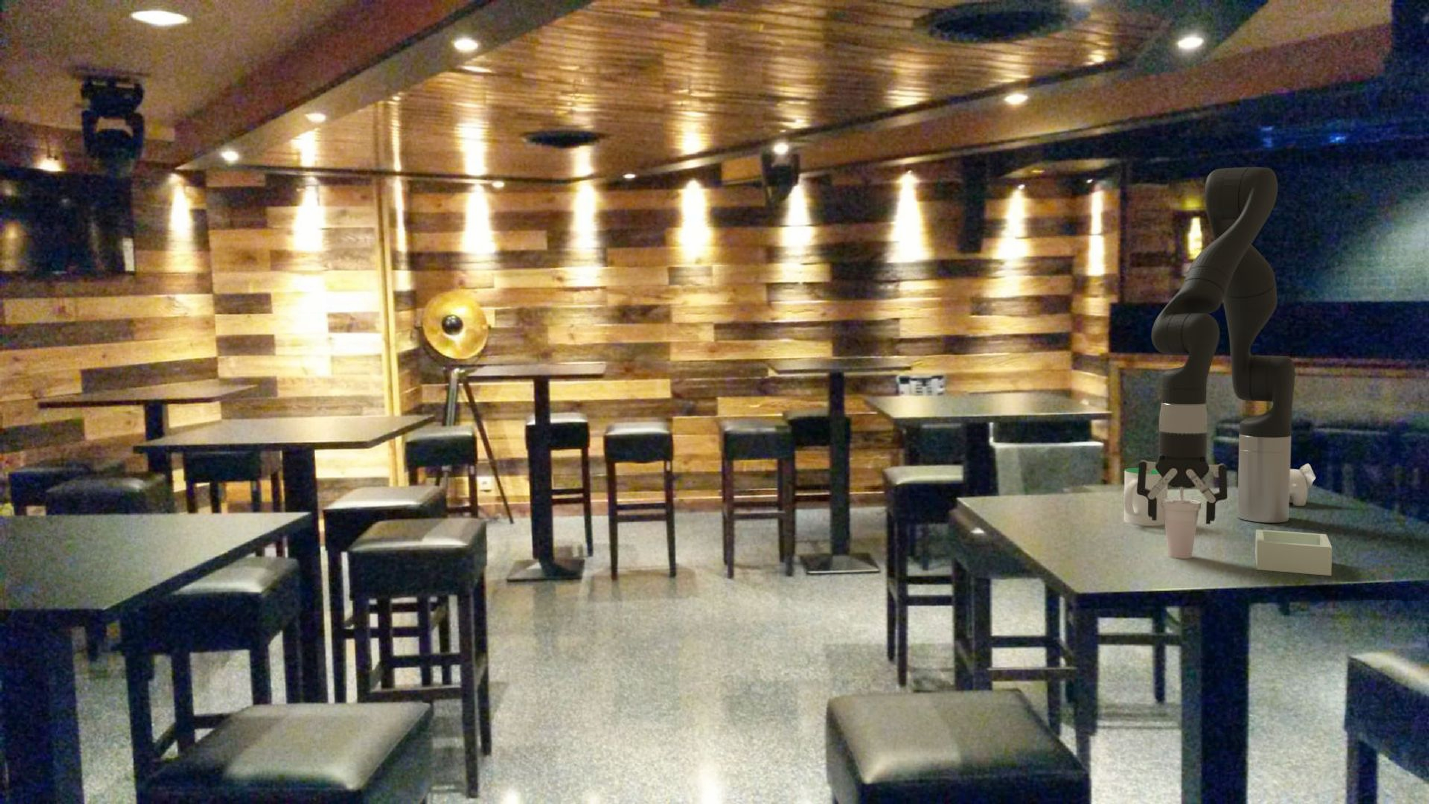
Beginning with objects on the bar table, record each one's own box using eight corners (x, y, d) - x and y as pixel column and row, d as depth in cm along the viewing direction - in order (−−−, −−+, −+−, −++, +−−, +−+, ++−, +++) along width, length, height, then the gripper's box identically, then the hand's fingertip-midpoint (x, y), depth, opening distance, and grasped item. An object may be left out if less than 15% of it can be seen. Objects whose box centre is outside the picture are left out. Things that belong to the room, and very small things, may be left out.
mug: (1149, 530, 197) (1150, 478, 196) (1109, 525, 203) (1109, 474, 202) (1173, 521, 206) (1174, 470, 205) (1133, 516, 211) (1134, 466, 210)
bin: (1255, 555, 176) (1255, 529, 176) (1325, 560, 171) (1326, 534, 171) (1257, 569, 167) (1257, 542, 166) (1331, 575, 162) (1332, 547, 162)
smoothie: (1202, 554, 178) (1204, 475, 176) (1197, 562, 172) (1199, 481, 171) (1162, 550, 181) (1164, 473, 180) (1157, 557, 176) (1158, 478, 174)
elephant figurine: (1296, 498, 228) (1297, 459, 227) (1320, 508, 216) (1321, 467, 215) (1251, 497, 229) (1252, 458, 228) (1272, 507, 217) (1273, 467, 216)
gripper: (1228, 428, 175) (1226, 520, 176) (1139, 425, 181) (1138, 514, 182) (1229, 432, 168) (1226, 529, 169) (1136, 429, 174) (1135, 522, 176)
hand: (1180, 521), depth 176 cm, fingers open, 8 cm apart
